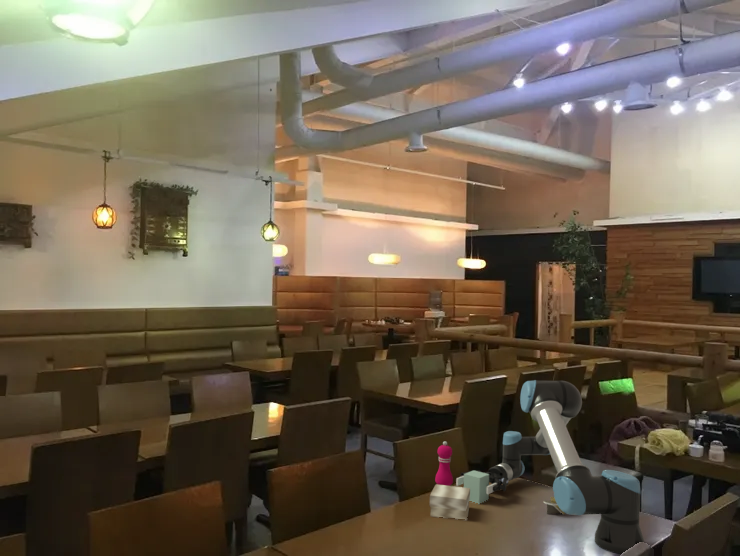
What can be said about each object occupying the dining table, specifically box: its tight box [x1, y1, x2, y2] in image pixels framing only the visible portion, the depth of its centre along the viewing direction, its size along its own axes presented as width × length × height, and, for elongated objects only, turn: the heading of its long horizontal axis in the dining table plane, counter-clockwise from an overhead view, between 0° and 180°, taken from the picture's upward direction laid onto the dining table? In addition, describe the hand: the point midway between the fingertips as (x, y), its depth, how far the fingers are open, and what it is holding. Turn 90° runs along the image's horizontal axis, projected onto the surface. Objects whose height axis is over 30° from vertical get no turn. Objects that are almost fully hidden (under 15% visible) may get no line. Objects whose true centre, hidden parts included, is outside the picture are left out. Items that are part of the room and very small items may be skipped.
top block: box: [429, 483, 470, 511], centre depth 231 cm, size 13×13×4 cm
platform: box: [543, 496, 565, 515], centre depth 232 cm, size 12×18×7 cm, turn 106°
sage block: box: [463, 470, 490, 505], centre depth 245 cm, size 7×7×10 cm
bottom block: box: [430, 502, 470, 521], centre depth 231 cm, size 13×13×4 cm
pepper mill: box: [434, 441, 454, 486], centre depth 254 cm, size 7×7×20 cm
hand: (471, 486), depth 242 cm, fingers open, 13 cm apart
